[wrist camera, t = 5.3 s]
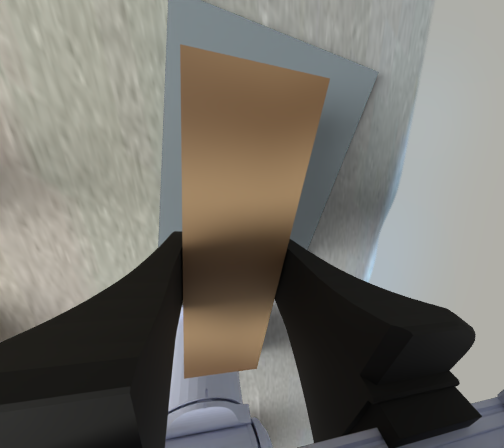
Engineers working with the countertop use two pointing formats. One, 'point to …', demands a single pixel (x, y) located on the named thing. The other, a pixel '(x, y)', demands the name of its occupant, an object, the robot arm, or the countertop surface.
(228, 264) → the wooden block
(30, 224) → the countertop surface
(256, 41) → the peg rack
